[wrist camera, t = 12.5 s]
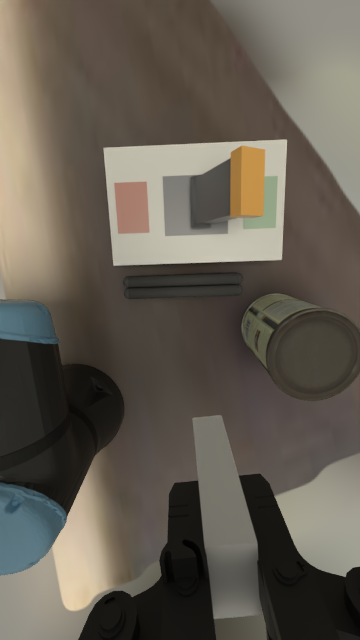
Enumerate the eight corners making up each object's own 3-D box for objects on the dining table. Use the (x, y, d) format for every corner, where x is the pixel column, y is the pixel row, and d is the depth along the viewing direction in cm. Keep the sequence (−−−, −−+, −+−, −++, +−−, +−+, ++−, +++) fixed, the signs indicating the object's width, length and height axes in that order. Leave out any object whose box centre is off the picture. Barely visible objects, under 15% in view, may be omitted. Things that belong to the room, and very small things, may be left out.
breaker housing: (122, 265, 41) (113, 265, 36) (114, 162, 38) (103, 147, 33) (270, 259, 41) (282, 259, 35) (273, 155, 38) (287, 138, 32)
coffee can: (316, 342, 43) (377, 381, 29) (254, 366, 44) (285, 414, 30) (295, 281, 41) (351, 292, 27) (231, 308, 42) (253, 331, 28)
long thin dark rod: (125, 298, 42) (123, 299, 41) (124, 276, 41) (121, 277, 40) (241, 294, 42) (243, 295, 40) (241, 272, 41) (243, 273, 39)
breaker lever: (187, 228, 34) (240, 214, 25) (185, 179, 33) (241, 145, 23) (205, 228, 35) (263, 215, 26) (204, 181, 34) (265, 149, 25)
